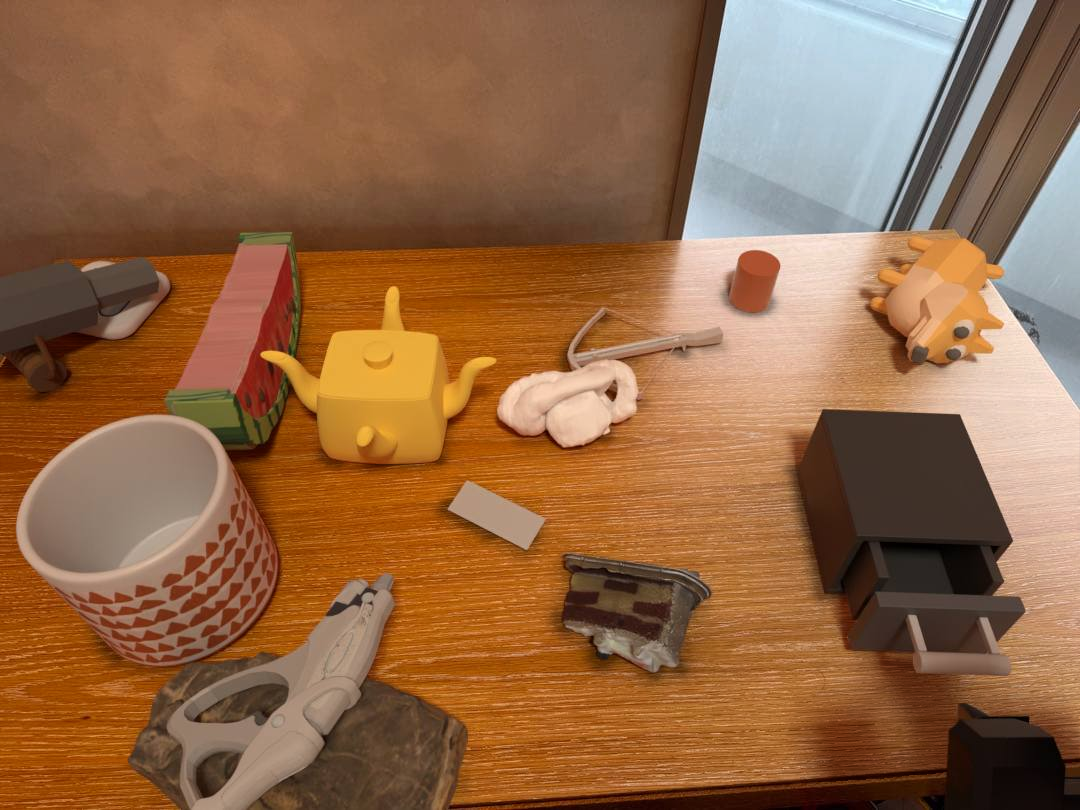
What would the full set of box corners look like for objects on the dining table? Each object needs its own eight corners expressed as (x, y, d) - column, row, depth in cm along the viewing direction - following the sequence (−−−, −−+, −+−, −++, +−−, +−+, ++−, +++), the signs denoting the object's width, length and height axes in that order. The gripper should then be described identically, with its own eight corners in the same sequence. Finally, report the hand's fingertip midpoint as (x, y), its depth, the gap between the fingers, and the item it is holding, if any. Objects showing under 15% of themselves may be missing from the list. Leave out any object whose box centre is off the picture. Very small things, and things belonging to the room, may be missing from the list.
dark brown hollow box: (966, 599, 67) (1014, 541, 60) (824, 594, 67) (857, 535, 60) (922, 475, 75) (960, 413, 69) (796, 471, 75) (822, 408, 69)
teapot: (499, 427, 77) (498, 352, 70) (377, 515, 70) (362, 441, 63) (399, 348, 84) (389, 272, 77) (279, 421, 77) (255, 345, 70)
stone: (251, 612, 64) (235, 579, 60) (491, 751, 57) (489, 723, 54) (117, 768, 56) (89, 741, 52) (377, 949, 50) (366, 933, 46)
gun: (323, 562, 63) (432, 604, 59) (132, 791, 51) (252, 865, 47) (311, 536, 61) (423, 578, 57) (109, 768, 49) (233, 843, 45)
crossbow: (585, 415, 79) (585, 401, 78) (553, 328, 88) (553, 313, 86) (743, 383, 81) (746, 368, 80) (697, 300, 90) (699, 285, 88)
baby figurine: (480, 384, 75) (513, 468, 73) (593, 319, 72) (633, 406, 69) (521, 399, 83) (552, 476, 80) (625, 341, 79) (662, 419, 77)
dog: (846, 294, 81) (983, 344, 74) (929, 207, 91) (1055, 244, 85) (831, 356, 86) (957, 408, 80) (911, 267, 97) (1028, 306, 90)
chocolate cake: (525, 636, 64) (635, 649, 54) (553, 550, 67) (662, 548, 57) (611, 677, 68) (726, 696, 59) (634, 595, 71) (747, 601, 62)
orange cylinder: (777, 300, 91) (789, 264, 87) (752, 318, 89) (763, 281, 85) (745, 281, 93) (755, 244, 89) (720, 297, 91) (729, 261, 87)
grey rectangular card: (447, 509, 71) (449, 513, 72) (526, 550, 68) (528, 553, 69) (467, 480, 72) (468, 483, 73) (546, 518, 69) (547, 522, 70)
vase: (193, 489, 71) (130, 388, 62) (315, 554, 66) (268, 455, 57) (62, 618, 64) (-32, 525, 54) (190, 703, 59) (111, 616, 49)
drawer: (1004, 709, 60) (1049, 668, 55) (862, 704, 60) (895, 662, 55) (940, 527, 70) (973, 479, 65) (819, 523, 70) (843, 474, 65)
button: (174, 272, 89) (120, 333, 82) (179, 284, 90) (126, 345, 83) (90, 255, 90) (30, 314, 83) (96, 267, 91) (37, 326, 85)
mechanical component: (119, 227, 85) (126, 309, 91) (-75, 271, 73) (-52, 362, 79) (176, 273, 81) (180, 355, 87) (-19, 327, 69) (1, 418, 75)
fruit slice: (265, 492, 69) (238, 400, 63) (188, 494, 69) (153, 402, 62) (313, 314, 89) (296, 230, 83) (254, 315, 89) (233, 231, 82)
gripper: (1553, 690, 32) (1209, 571, 47) (1072, 692, 31) (884, 571, 46) (1520, 965, 33) (1194, 760, 48) (1053, 973, 32) (875, 763, 47)
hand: (1039, 710), depth 47 cm, fingers open, 9 cm apart
